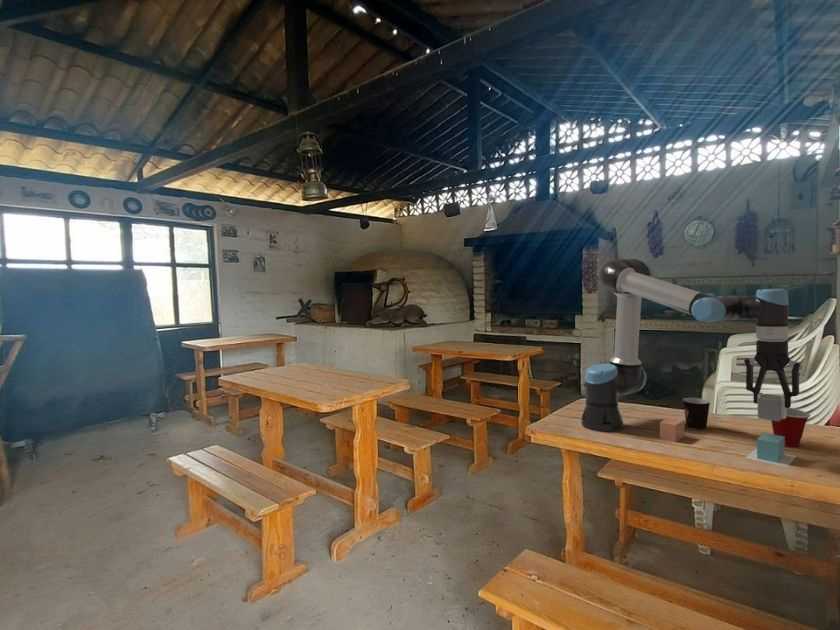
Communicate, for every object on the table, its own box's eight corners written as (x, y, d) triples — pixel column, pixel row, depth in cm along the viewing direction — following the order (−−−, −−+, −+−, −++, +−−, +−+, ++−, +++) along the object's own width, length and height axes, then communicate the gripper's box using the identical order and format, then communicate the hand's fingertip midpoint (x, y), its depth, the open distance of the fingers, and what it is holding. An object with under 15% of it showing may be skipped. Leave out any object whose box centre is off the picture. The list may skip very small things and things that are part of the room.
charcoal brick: (758, 418, 133) (758, 398, 133) (764, 412, 138) (765, 393, 138) (778, 421, 129) (779, 401, 129) (785, 415, 134) (785, 396, 134)
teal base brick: (757, 458, 134) (757, 439, 134) (764, 451, 139) (764, 432, 139) (777, 462, 130) (778, 443, 130) (784, 455, 135) (784, 436, 135)
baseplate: (745, 459, 135) (745, 457, 135) (756, 449, 142) (756, 447, 142) (786, 469, 127) (786, 467, 127) (796, 458, 135) (796, 456, 134)
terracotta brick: (659, 438, 156) (659, 422, 155) (669, 433, 161) (669, 417, 160) (675, 442, 152) (675, 425, 151) (684, 436, 157) (684, 420, 156)
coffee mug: (710, 431, 161) (710, 404, 160) (682, 428, 165) (682, 402, 165) (709, 423, 171) (709, 397, 170) (683, 420, 175) (683, 395, 175)
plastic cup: (811, 454, 137) (812, 416, 136) (767, 447, 144) (767, 411, 143) (809, 444, 145) (809, 408, 145) (767, 438, 152) (767, 404, 152)
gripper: (732, 339, 137) (732, 413, 138) (808, 343, 123) (808, 425, 124) (740, 337, 142) (740, 408, 143) (814, 340, 128) (813, 419, 129)
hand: (771, 416), depth 134 cm, fingers closed on charcoal brick, 5 cm apart
